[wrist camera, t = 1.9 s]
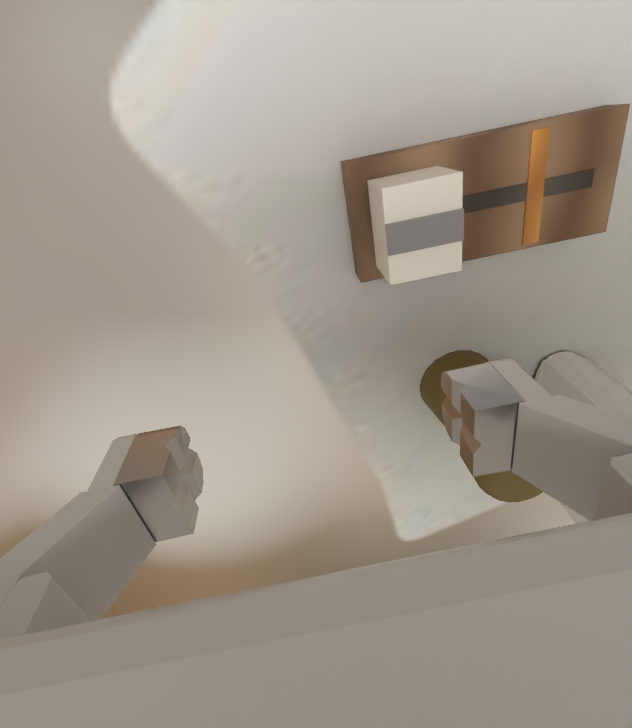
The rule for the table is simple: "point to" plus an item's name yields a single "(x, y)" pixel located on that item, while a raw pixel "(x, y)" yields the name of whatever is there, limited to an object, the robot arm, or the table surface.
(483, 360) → the cork
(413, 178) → the fader tab
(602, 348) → the table surface
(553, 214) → the slider board
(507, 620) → the robot arm
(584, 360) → the photo printer
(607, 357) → the table surface
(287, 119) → the table surface
